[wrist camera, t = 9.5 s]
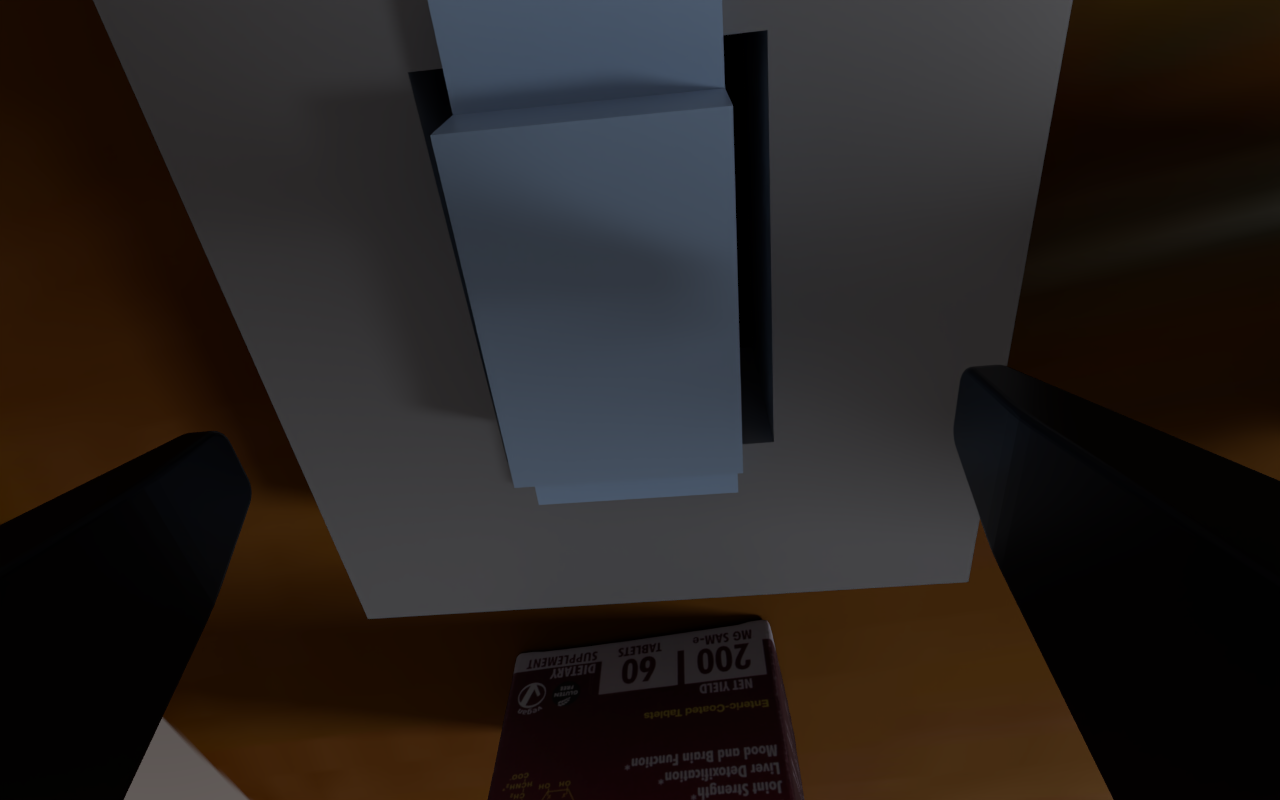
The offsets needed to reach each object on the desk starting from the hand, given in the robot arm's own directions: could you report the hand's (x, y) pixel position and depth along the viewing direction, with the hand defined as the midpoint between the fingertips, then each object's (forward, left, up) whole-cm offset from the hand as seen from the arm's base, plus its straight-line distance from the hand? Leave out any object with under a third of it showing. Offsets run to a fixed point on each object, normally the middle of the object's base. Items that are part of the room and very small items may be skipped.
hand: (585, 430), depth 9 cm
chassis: (0, 0, -9) cm, 9 cm away
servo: (0, 0, -9) cm, 9 cm away
